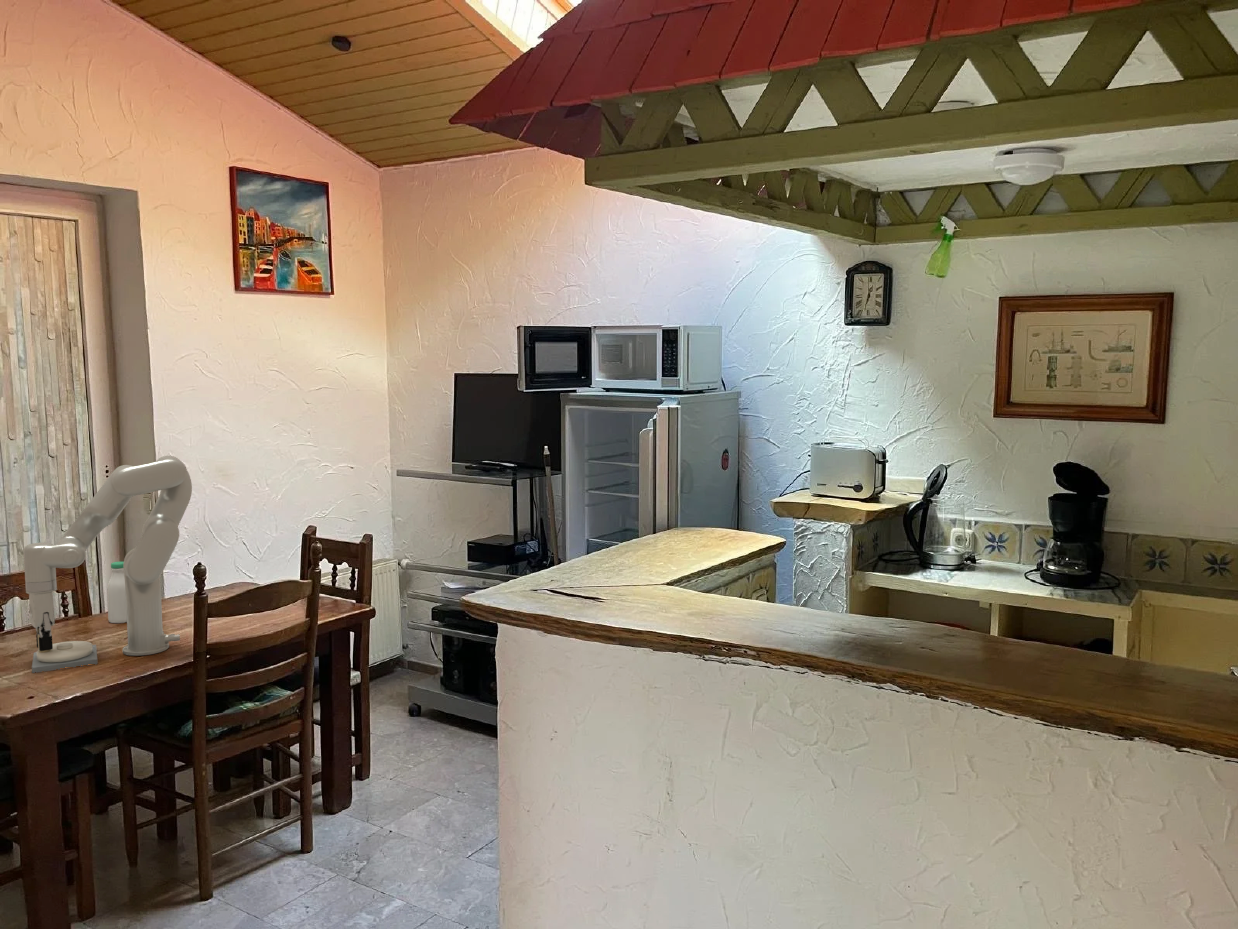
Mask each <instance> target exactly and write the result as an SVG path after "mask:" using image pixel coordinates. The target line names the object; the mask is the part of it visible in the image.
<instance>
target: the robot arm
mask: <svg viewBox="0 0 1238 929" xmlns="http://www.w3.org/2000/svg"><path fill="white" fill-rule="evenodd" d="M192 485H193V484H192V479H191V476H190V473H189V471H188V468H187V467H186V465H185V463H184V462H183V461H182V460H180V458H178V457H176V456H173V455H163V456H161V457H159V458H157V460H156V461H154V462H150V463H146V464H140V465H135V466H133V465H131V464H124V465H120V466H117V467H116V468H115V469H114V470H113V471H112V473H111V474H110V475H108V478H107V479H106V480H105V481H104V483H103V484H102V485H101V487H100V488H99V489H98V490H97V492H96V493H95V495H93V497H92V498H91V500H90V501H89V502H88V503H87V505H86V506H85V507H84V508H83V510H82V512H81V513H80V514H79V515H78V516H77V517H76V519H75V520H74V521H73V523H72V524H71V525H70V526H69V528H67V530H66V532H64V534H63V536H62V537H61V538H60V539H59V541H58V542H57V543H56V544H53V543H51V542H34V543H29V544H27V545H25V546H24V548H23V562H24V564H23V565H24V566H23V567H24V580H25V581H24V582H25V593H26V594H28V607H29V608H28V610H29V611H28V612H29V615H28V616H29V618H28V619H29V623H30V625H31V626H32V627H33V628H35V631H36V635H35V637H36V638H35V639H36V648H38V634H40V637H39V650H40V651H46V650H51V649H53V645H52V644H53V635H52V627H53V626H54V625H55V604H54V595H53V594H54V592H56V591H57V590H58V586H57V569H58V568H59V569H73V568H78V567H79V566H80V565H82V564H83V563H84V561H85V559H86V557H87V556H86V553H87V552H86V551H87V549H88V548H89V547H90V546H91V544H93V543H94V540H95V539H96V538H97V537H98V536H99V535H100V533H101V532H102V531H103V530H104V529H105V528H107V527H108V526H110V525H112V524H113V523H114V522H115V521H116V520H117V518H119V516H120V515H121V513H122V512H123V510H124V509H125V508H126V506H127V505H128V504H129V503H130V501H131V500H132V498H133V497H135V496H140V495H145V494H151V493H154V492H159V491H160V492H159V495H158V497H157V498H156V499H157V500H156V501H155V504H154V506H153V507H152V509H151V511H150V513H149V515H148V517H147V519H146V520H145V522H144V523H143V525H142V529H141V535H142V536H141V538H140V540H139V542H138V543H137V544H136V547H134V548H132V549H130V550H129V551H128V552H127V553H126V554H125V556H124V558H123V562H124V564H123V567H124V578H125V591H126V613H127V622H126V628H127V645H125V646H123V648H122V654H123V655H126V656H135V657H136V656H137V657H139V656H148V655H155V654H158V653H161V652H164V651H166V650H167V649H169V648H170V643H169V642H177V641H178V642H179V641H181V635H180V634H179V633H178V634H176V633H170V634H166V633H165V632H164V630H163V628H164V627H163V608H162V586H161V585H162V584H161V582H162V581H161V575H162V574H163V572H164V570H165V568H166V567H167V565H168V562H169V560H170V558H171V557H172V555H173V553H174V551H175V549H176V547H177V545H178V541H179V539H180V528H179V525H180V523H181V521H182V520H183V517H184V515H185V512H186V511H187V508H188V506H189V504H190V502H191V497H192V493H193V486H192ZM56 568H57V569H56Z"/></svg>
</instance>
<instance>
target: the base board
mask: <svg viewBox="0 0 1238 929" xmlns="http://www.w3.org/2000/svg"><path fill="white" fill-rule="evenodd" d="M92 646H93V652H92V653H91V654H90V655H88V656H86V657H83V658H80V659H76V660H71V661H64V662H41V661H38V660H37V651H35V652H33V656H32V663H31V664H32V665H31V673H32V674H34V673H35V672H36V673H41V672H42V671H44V672H50V671H57V670H56V669H58V670H61V669H60V668H65V667H73V668H77V667H76V666H80V667H84V666H83V665H87V666H89V665H88V664H95V665H98V662H99V661H98V654H97V653H98V649H97V644H92ZM81 665H82V666H81ZM42 673H43V672H42Z"/></svg>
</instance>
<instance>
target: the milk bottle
mask: <svg viewBox="0 0 1238 929" xmlns="http://www.w3.org/2000/svg"><path fill="white" fill-rule="evenodd" d="M123 564H124V561H114V562H112V563H110V568H111V574H110V577H109V580H108V582H107V586H106V592H107V593H106V594H107V596H106V597H107V600H106V601H107V619H108V622H109V623H111V624H124V623H127V613H126V591H125V578H124V567H123Z"/></svg>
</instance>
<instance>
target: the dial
mask: <svg viewBox="0 0 1238 929" xmlns="http://www.w3.org/2000/svg"><path fill="white" fill-rule="evenodd" d="M39 637H40V634H38V649H37V650H36V652H37V660H38V661H41V662H64V661H71V660H76V659H80V658H83V657H86V656H88V655H90V654H91V653H92V652H93V646H92V645H93V643H92V642H90V641H85V640H70V641H69V640H68V641H61V642H57V643H56V642H55V643H52V645H53V649H51V650H46V651H40V650H39Z"/></svg>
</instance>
